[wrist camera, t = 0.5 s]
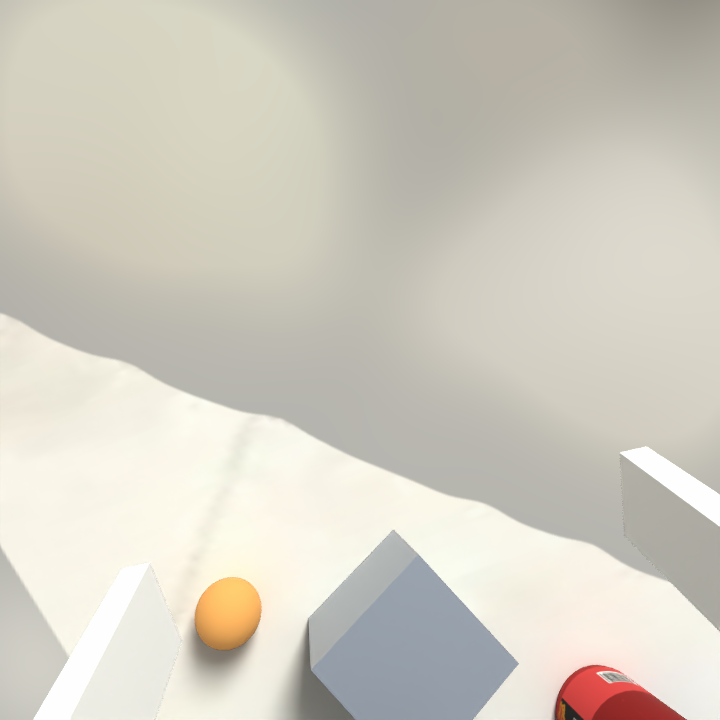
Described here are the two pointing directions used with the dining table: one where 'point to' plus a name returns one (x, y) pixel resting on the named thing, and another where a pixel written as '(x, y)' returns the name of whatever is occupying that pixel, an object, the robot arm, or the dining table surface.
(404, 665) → the slate blue cube
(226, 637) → the ball
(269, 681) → the dining table surface
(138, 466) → the dining table surface
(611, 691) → the canned food
